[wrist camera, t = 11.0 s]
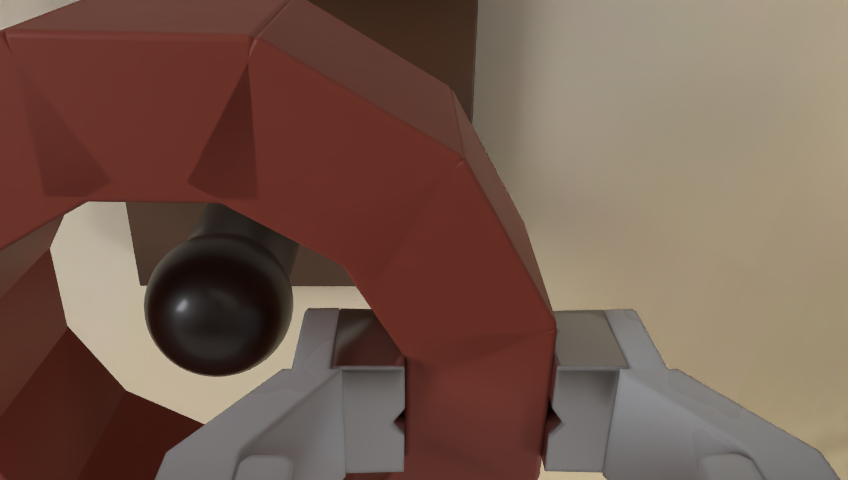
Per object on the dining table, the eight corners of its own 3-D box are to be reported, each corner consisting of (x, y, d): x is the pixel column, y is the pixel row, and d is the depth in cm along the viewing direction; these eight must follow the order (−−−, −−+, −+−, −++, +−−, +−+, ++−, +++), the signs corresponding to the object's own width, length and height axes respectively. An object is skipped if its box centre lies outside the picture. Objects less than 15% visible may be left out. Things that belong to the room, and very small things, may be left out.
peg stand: (99, -70, 20) (-263, 0, 9) (475, -63, 20) (560, 12, 9) (154, 263, 24) (-44, 574, 13) (460, 264, 24) (506, 568, 14)
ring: (-148, -19, 11) (-356, 22, 8) (545, -2, 11) (595, 42, 8) (8, 498, 15) (-87, 646, 12) (498, 501, 15) (519, 646, 12)
